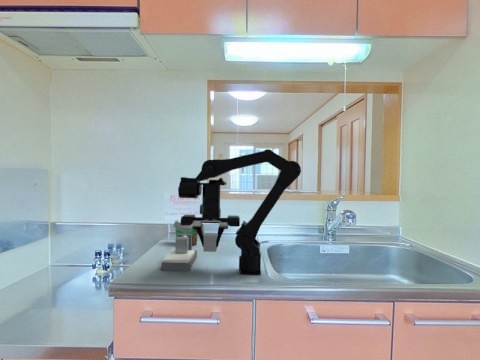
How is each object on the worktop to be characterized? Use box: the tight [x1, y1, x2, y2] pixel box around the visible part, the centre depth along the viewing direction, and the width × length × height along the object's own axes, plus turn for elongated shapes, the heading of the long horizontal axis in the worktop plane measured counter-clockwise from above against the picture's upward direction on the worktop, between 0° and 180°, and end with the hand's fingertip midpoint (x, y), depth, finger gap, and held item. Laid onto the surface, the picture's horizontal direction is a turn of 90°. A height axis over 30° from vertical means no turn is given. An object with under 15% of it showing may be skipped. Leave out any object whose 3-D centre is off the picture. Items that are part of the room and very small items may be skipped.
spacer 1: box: [174, 237, 189, 254], centre depth 114 cm, size 4×4×5 cm
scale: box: [161, 234, 198, 272], centre depth 112 cm, size 9×17×8 cm, turn 0°
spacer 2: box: [202, 233, 218, 253], centre depth 105 cm, size 4×4×5 cm
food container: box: [173, 219, 199, 247], centre depth 139 cm, size 12×6×10 cm, turn 62°
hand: (210, 246), depth 105 cm, fingers closed on spacer 2, 4 cm apart
